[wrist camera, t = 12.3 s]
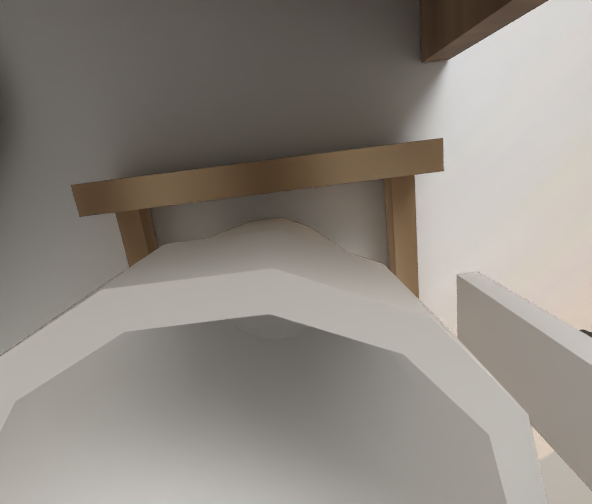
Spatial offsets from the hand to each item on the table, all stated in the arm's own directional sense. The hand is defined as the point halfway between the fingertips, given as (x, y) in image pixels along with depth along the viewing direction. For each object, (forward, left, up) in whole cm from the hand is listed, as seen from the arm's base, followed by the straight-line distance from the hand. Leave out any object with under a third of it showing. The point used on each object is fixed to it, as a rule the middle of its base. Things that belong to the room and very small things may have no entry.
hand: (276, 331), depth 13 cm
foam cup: (0, 0, -6) cm, 6 cm away
